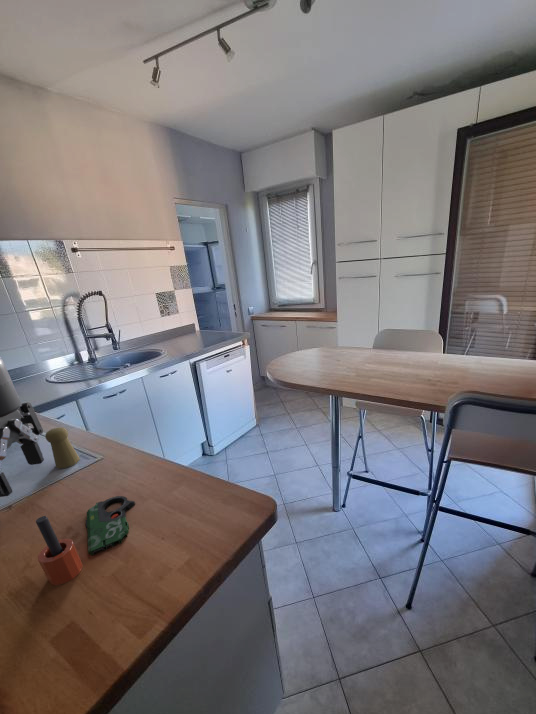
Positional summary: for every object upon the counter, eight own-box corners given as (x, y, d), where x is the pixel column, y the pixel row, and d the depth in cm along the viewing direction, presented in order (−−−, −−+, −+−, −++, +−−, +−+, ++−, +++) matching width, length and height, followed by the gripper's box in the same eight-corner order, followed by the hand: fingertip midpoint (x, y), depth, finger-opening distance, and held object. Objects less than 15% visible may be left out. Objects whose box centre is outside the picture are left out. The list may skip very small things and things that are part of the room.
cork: (52, 465, 97) (38, 431, 93) (74, 455, 101) (61, 422, 97) (61, 471, 94) (46, 436, 89) (83, 460, 98) (71, 427, 94)
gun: (141, 531, 68) (85, 554, 63) (143, 536, 69) (88, 559, 64) (131, 490, 81) (84, 507, 76) (133, 495, 82) (86, 512, 77)
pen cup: (44, 589, 59) (31, 564, 56) (59, 564, 63) (47, 541, 61) (75, 583, 59) (63, 559, 57) (88, 559, 64) (77, 536, 62)
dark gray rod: (59, 576, 60) (33, 523, 55) (64, 568, 62) (38, 516, 57) (69, 574, 61) (43, 521, 56) (73, 567, 62) (48, 515, 57)
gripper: (-17, 371, 53) (23, 457, 59) (-102, 407, 40) (-39, 512, 47) (34, 366, 54) (68, 451, 60) (-33, 399, 41) (19, 504, 47)
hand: (21, 478), depth 53 cm, fingers open, 8 cm apart
